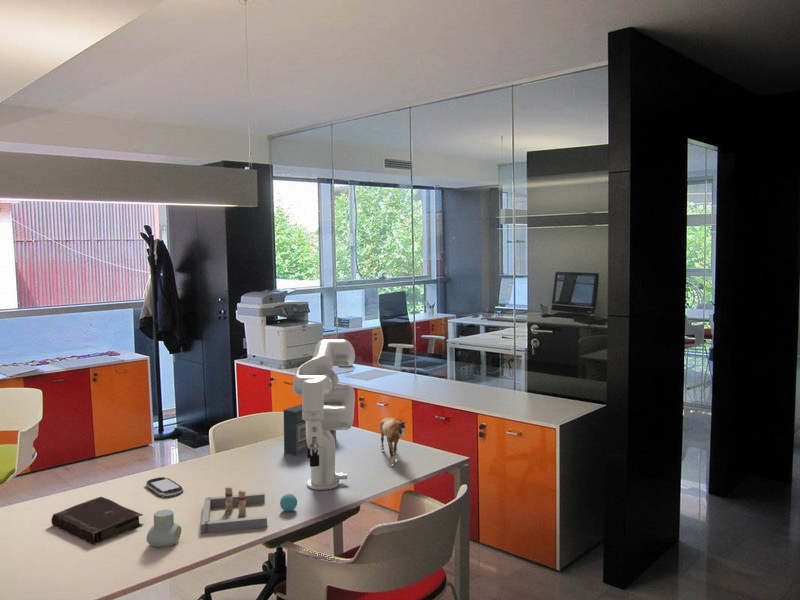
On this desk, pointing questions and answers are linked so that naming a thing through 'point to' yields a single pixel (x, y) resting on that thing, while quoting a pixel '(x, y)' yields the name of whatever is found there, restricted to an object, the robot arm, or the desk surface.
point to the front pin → (242, 502)
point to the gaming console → (164, 486)
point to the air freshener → (164, 530)
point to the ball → (288, 502)
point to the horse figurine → (392, 433)
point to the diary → (96, 520)
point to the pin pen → (232, 523)
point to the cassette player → (296, 431)
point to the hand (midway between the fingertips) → (313, 461)
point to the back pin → (229, 499)
